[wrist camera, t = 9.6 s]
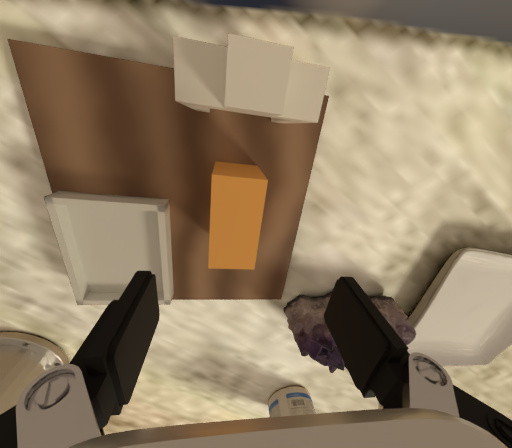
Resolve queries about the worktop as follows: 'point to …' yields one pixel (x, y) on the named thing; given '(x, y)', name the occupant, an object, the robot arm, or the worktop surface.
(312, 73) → the beige blocky piece
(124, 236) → the tray
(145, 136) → the board
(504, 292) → the square plate
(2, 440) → the robot arm
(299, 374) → the worktop surface
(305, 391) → the supplement tub
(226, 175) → the orange block
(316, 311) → the geode
